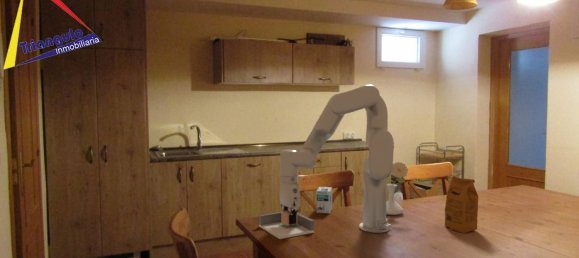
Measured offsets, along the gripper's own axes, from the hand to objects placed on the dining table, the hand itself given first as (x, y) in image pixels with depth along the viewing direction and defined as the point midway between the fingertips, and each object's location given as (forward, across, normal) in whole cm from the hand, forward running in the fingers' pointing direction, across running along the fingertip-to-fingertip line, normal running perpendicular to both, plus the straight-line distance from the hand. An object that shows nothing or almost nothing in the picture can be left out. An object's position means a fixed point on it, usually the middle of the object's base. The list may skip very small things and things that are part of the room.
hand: (289, 221), depth 170 cm
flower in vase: (+3, -5, -54) cm, 54 cm away
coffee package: (+3, -36, -62) cm, 72 cm away
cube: (+1, 0, 0) cm, 1 cm away
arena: (+3, -1, +2) cm, 4 cm away
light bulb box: (+3, +16, -29) cm, 33 cm away
